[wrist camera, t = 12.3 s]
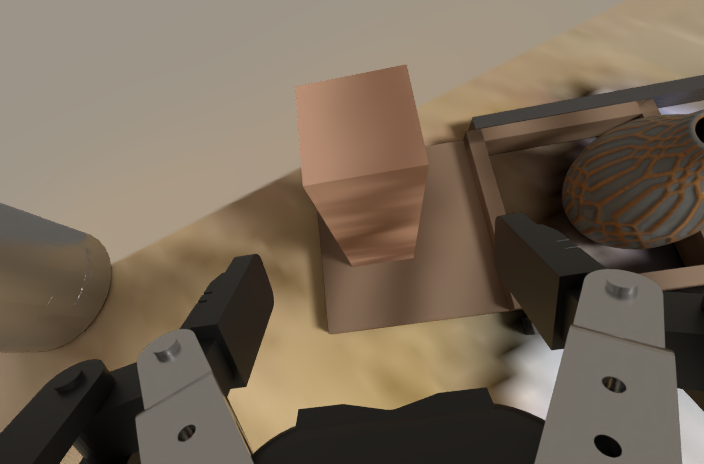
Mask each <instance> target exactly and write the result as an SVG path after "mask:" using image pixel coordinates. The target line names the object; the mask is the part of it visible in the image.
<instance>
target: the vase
mask: <svg viewBox="0 0 704 464" xmlns="http://www.w3.org/2000/svg"><path fill="white" fill-rule="evenodd" d="M562 204H563V208H564V211H565V214H566V216H567V217H568V219H569V221H570V222H571V223H572V225H573V226H574V227H575V228H576V229H577V230H578V231H579V232H580V233H582V234H583V235H584V236H586V237H587V238H589V239H591V240H593V241H595V242H597V243H599V244H602V245H606V246H610V247H614V248H621V249H647V248H654V247H659V246H663V245H667V244H670V243H673V242H676V241H679V240H682V239H684V238H687V237H689V236H691V235H693V234H695V233H697V232H699V231H700V230H702V229H703V228H704V110H700V111H697V112H694V113H691V114H675V115H656V116H649V117H644V118H640V119H636V120H633V121H630V122H627V123H625V124H622V125H620V126H618V127H616V128H614V129H612V130H610V131H608V132H606V133H605V134H603V135H601V136H600V137H598V138H597V139H596V140H594V141H593V142H592V143H590V144H589V145H588V146H587V147H586V148H585V149H584V150H583V151H582V152H581V153H580V154H579V156H578V157H577V158H576V159H575V161H574V162H573V163H572V165H571V166H570V168H569V170H568V172H567V174H566V177H565V180H564V183H563V188H562Z"/></svg>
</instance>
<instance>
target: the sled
mask: <svg viewBox="0 0 704 464" xmlns="http://www.w3.org/2000/svg"><path fill="white" fill-rule="evenodd" d="M295 92H296V105H297V118H298V131H299V142H300V156H301V170H302V182H303V187H304V189H305V191H306V192H307V194H308V195H309V197H310V199H311V200H312V202H313V203H314V205H315V207H316V208H317V211H318V222H319V232H320V243H321V254H322V265H323V276H324V287H325V298H326V309H327V320H328V331H329V334H338V333H346V332H353V331H361V330H369V329H376V328H384V327H392V326H399V325H407V324H415V323H422V322H430V321H438V320H445V319H453V318H461V317H468V316H476V315H484V314H491V313H499V312H507V311H514V310H522V308H521V306H520V305H519V303H518V302H517V300H516V299H515V298H514V296H513V295H512V293H511V292H510V290H509V289H508V288H507V286H506V285H505V283H504V282H503V280H502V279H501V278H500V276H499V274H498V272H497V269H496V266H495V259H494V248H495V219H496V217H497V216H501V215H506V212H505V209H504V205H503V202H502V198H501V195H500V192H499V188H498V185H497V181H496V178H495V175H494V171H493V168H492V165H491V161H490V158H489V155H491V154H497V153H503V152H509V151H514V150H520V149H526V148H532V147H538V146H543V145H549V144H555V143H561V142H567V141H573V140H578V139H584V138H590V137H596V136H601V135H603V134H605V133H606V132H608V131H610V130H612V129H614V128H616V127H618V126H620V125H622V124H625V123H627V122H630V121H633V120H636V119H640V118H644V117H649V116H656V115H661V114H660V112H659V110H658V108H657V106H656V104H655V102H654V100H653V98H649V99H644V100H638V101H633V102H627V103H621V104H616V105H610V106H605V107H599V108H594V109H588V110H582V111H577V112H571V113H566V114H560V115H555V116H549V117H544V118H538V119H532V120H527V121H521V122H516V123H510V124H505V125H499V126H493V127H488V128H482V129H477V130H471V131H466V133H465V136H464V140H459V141H454V142H448V143H443V144H437V145H431V146H426V147H425V145H424V141H423V136H422V132H421V127H420V123H419V118H418V114H417V109H416V105H415V101H414V96H413V92H412V87H411V83H410V78H409V74H408V69H407V65H402V66H396V67H391V68H386V69H381V70H376V71H372V72H367V73H362V74H356V75H352V76H346V77H342V78H336V79H331V80H326V81H321V82H317V83H312V84H307V85H301V86H297V87H295ZM674 244H675V246H676V248H677V250H678V252H679V255H680V257H681V259H682V261H683V263H684V265H685V267H684V268H677V269H669V270H662V271H654V272H647V273H640V274H639V275H642V276H644V277H646V278H648V279H650V280H652V281H653V282H655V283H656V284H657V285H658V286H659V287H660V288H661V290H662V291H667V290H675V289H683V288H690V287H698V286H704V228H703V229H702V230H700V231H699V232H697V233H695V234H693V235H691V236H689V237H687V238H684V239H682V240H679V241H676V242H674Z"/></svg>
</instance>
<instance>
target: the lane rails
mask: <svg viewBox="0 0 704 464" xmlns="http://www.w3.org/2000/svg"><path fill="white" fill-rule="evenodd" d="M649 98H653V100H654V102H655V104H656V106H657V108H662V107H668V106H673V105H679V104H684V103H690V102H696V101H701V100H704V75H702V76H696V77H691V78H685V79H680V80H674V81H669V82H663V83H658V84H652V85H647V86H641V87H636V88H631V89H625V90H620V91H614V92H609V93H603V94H598V95H592V96H587V97H581V98H576V99H570V100H565V101H559V102H554V103H549V104H543V105H538V106H532V107H527V108H521V109H516V110H510V111H505V112H499V113H494V114H488V115H483V116H477V117H472V120H471V124H470V127H469V131H471V130H477V129H482V128H488V127H493V126H499V125H505V124H510V123H516V122H521V121H527V120H532V119H538V118H544V117H549V116H555V115H560V114H566V113H571V112H577V111H582V110H588V109H594V108H599V107H605V106H610V105H616V104H621V103H627V102H633V101H638V100H644V99H649ZM521 320H522V323H523V327H524V331H525V334H526V335H533V334H540V333H539V332H538V330H537V329H536V328H535V326H534V325H533V323H532V322H531V320H530V319H529V318H528V317H525V318H521Z"/></svg>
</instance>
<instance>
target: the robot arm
mask: <svg viewBox="0 0 704 464" xmlns="http://www.w3.org/2000/svg"><path fill="white" fill-rule="evenodd" d="M494 259H495V266H496V269H497V272H498V274H499V276H500V278H501V279H502V280H503V282H504V283H505V285H506V286H507V288H508V289H509V290H510V292H511V293H512V295H513V296H514V298H515V299H516V300H517V302H518V303H519V305H520V306H521V308H522V309H523V310H524V312H525V313H526V315H527V316H528V318H529V319H530V320H531V322H532V323H533V325H534V326H535V328H536V329H537V330H538V332H539V333H540V335H541V336H542V338H543V339H544V340H545V342H546V343H547V345H548V346H549V348H550V349H551V350H557V349H564V352H563V355H562V359H561V363H560V367H559V371H558V375H557V379H556V382H555V386H554V390H553V394H552V398H551V402H550V406H549V410H548V413H547V417H546V421H545V420H543V419H541V418H539V417H537V416H535V415H533V414H530V413H528V412H526V411H523V410H520V409H517V408H514V407H510V406H505V405H501V404H494V403H493V402H492V399H491V397H490V394H489V392H488V389H487V387H486V388H478V389H469V390H460V391H452V392H443V393H437V394H435V395H432V396H429V397H427V398H424V399H421V400H419V401H416V402H413V403H411V404H408V405H405V406H403V407H400V408H397V409H394V410H383V409H376V408H368V407H361V406H353V405H346V404H340V405H332V406H323V407H314V408H306V409H299V410H298V416H297V422H296V426H294V427H292V428H290V429H288V430H286V431H284V432H282V433H280V434H278V435H277V436H275V437H274V438H272V439H270V440H269V441H268V442H266V443H265V444H264V445H263V446H261V447H260V448H259V449H258V450H257V451H256V452H255V453H254V452H253V450H252V448H251V446H250V444H249V442H248V439H247V437H246V435H245V433H244V431H243V429H242V427H241V425H240V423H239V421H238V418H237V416H236V414H235V412H234V410H233V408H232V406H231V404H230V402H229V400H228V398H227V396H228V394H229V391H230V389H233V388H241V387H246V386H247V383H248V380H249V377H250V374H251V371H252V368H253V366H254V363H255V360H256V357H257V354H258V351H259V348H260V345H261V342H262V339H263V336H264V333H265V330H266V327H267V324H268V321H269V318H270V315H271V312H272V310H273V305H274V297H273V291H272V288H271V285H270V282H269V280H268V277H267V274H266V271H265V268H264V265H263V262H262V260H261V258H260V256H259V255H258V254H252V255H245V256H239V257H235V258H234V259H233V261H232V262H231V264H230V265H229V267H228V269H227V270H226V272H225V273H222V274H221V275H219V276H218V277H217V278H216V279H215V280H213V281H212V282H211V283H210V284H209V286H208V287H207V289H206V290H205V292H204V295H202V296H201V298H200V299H199V301H198V303H197V304H196V305H195V307H194V308H193V310H192V311H191V313H190V314H189V316H188V317H187V319H186V320H185V322H184V323H183V325H182V326H181V328H180V329H179V330H175V331H171V332H169V333H166V334H164V335H162V336H160V337H159V338H157V339H155V340H154V341H153V342H151V343H150V344H149V345H148V346H147V347H146V348H145V349H144V350H143V351H142V352H141V354H140V355H139V357H138V360H137V362H136V363H133V364H131V365H128V366H125V367H122V368H120V369H117V370H114V371H111V372H109V370H108V369H107V368H106V366H105V365H104V363H103V362H102V361H101V360H97V359H93V360H87V361H83V362H80V363H78V364H76V365H73V366H71V367H69V368H68V369H66V370H64V371H62V372H61V373H59V374H58V375H57V376H55V377H54V378H53V379H51V380H50V381H49V382H48V383H47V384H46V385H45V386H44V387H43V388H42V389H41V390H40V391H39V392H38V393H37V394H36V395H35V397H34V398H33V399H32V400H31V401H30V402H29V403H28V404H27V405H26V406H25V407H24V408H23V410H22V411H21V412H20V413H19V414H18V415H17V416H16V417H15V418H14V419H13V420H12V421H11V423H10V424H9V425H8V426H7V427H6V428H5V429H4V430H3V431H2V432H1V433H0V464H59V463H60V462H61V461H62V459H63V458H64V456H65V455H66V453H67V452H68V451H69V449H70V448H71V446H72V445H73V446H74V447H75V448H76V449H77V450H78V451H79V453H80V454H81V455H82V456H83V459H82V460H81V462H80V463H79V464H682V455H681V439H680V424H679V409H678V394H677V388H680V389H683V390H684V391H685V392H686V393H687V394H688V395H689V396H690V397H691V398H692V399H693V400H694V402H695V403H696V404H697V405H698V406H699V407H700V408H701V409H702V410H703V411H704V294H699V293H681V292H664V291H662V290H661V288H660V287H659V286H658V285H657V284H656V283H655V282H653V281H652V280H650V279H648V278H646V277H644V276H642V275H639V274H636V273H633V272H629V271H624V270H617V269H606V268H605V267H603V266H602V265H601V264H600V263H598V262H597V261H596V260H595V259H593V258H592V257H591V256H590V255H588V254H587V253H586V252H585V251H583V250H582V249H581V248H578V247H577V245H576V244H574V243H573V242H572V241H571V240H570V241H569V239H568V238H567V237H566V236H564V235H563V234H562V233H561V232H559V231H558V230H556V229H553V228H551V227H548V226H545V225H543V224H540V225H537V224H536V223H535V222H533V221H532V220H531V219H530V218H529V217H527V216H526V215H525V214H524V213H522V212H520V213H513V214H507V215H501V216H497V217H496V219H495V248H494ZM110 282H111V264H110V258H109V256H108V253H107V252H106V249H105V247H104V246H103V245H102V244H101V242H100V241H99V240H98V239H96V238H94V237H93V236H91V235H89V234H86V233H84V232H81V231H78V230H75V229H72V228H69V227H67V226H64V225H61V224H58V223H55V222H52V221H50V220H47V219H43V218H41V217H39V216H36V215H33V214H30V213H28V212H25V211H22V210H19V209H16V208H13V207H10V206H8V205H5V204H2V203H0V353H14V352H41V351H49V350H53V349H56V348H58V347H61V346H63V345H65V344H67V343H68V342H70V341H72V340H73V339H75V338H76V337H77V336H79V335H80V334H81V333H82V332H83V331H84V330H86V328H87V327H88V326H89V325H90V324H91V323H92V321H93V320H94V319H95V318H96V316H97V314H98V313H99V311H100V309H101V308H102V306H103V304H104V302H105V299H106V297H107V294H108V291H109V286H110Z"/></svg>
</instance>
